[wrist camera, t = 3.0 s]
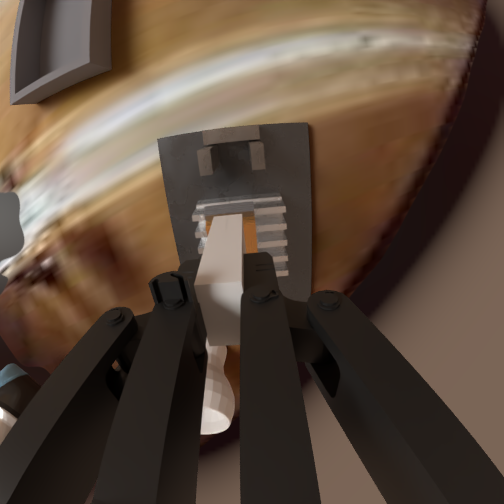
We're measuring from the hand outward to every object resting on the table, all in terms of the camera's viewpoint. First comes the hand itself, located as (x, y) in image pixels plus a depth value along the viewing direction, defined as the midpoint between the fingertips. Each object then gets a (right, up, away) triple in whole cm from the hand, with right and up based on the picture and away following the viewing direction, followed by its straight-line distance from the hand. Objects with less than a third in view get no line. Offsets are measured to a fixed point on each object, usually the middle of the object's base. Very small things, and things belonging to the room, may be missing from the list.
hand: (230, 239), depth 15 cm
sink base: (0, +3, +21) cm, 22 cm away
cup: (-7, -18, +31) cm, 37 cm away
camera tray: (-25, +32, +6) cm, 41 cm away
